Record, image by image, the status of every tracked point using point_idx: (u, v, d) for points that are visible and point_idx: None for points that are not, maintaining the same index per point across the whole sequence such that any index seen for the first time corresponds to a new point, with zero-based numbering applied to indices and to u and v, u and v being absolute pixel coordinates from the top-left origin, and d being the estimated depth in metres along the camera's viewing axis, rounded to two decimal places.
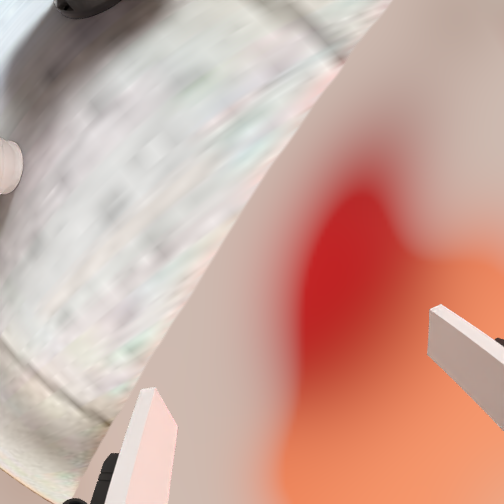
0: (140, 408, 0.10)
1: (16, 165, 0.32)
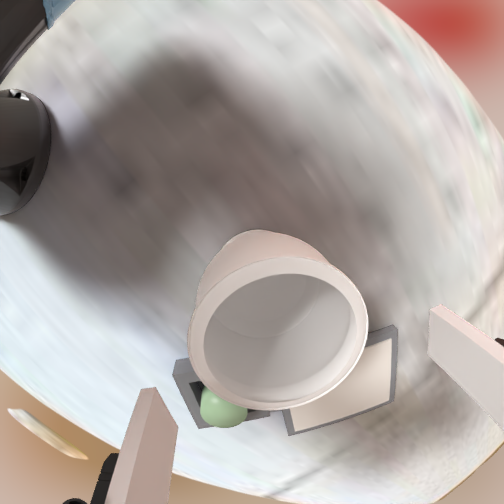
0: (140, 408, 0.10)
1: None
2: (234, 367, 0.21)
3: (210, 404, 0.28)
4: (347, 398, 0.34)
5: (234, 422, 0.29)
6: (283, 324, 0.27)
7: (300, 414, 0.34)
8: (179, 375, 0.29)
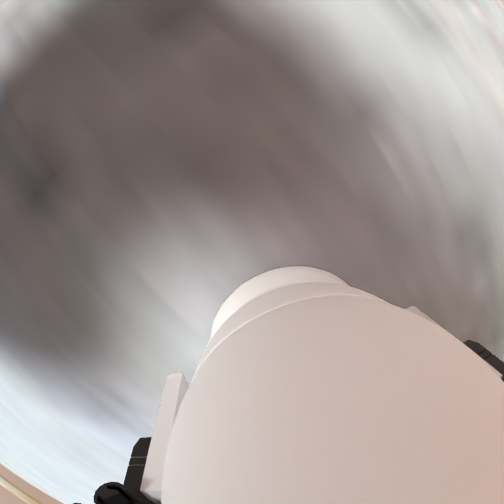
0: (169, 392, 0.11)
1: (306, 283, 0.13)
2: None
3: None
4: None
5: None
6: None
7: None
8: None
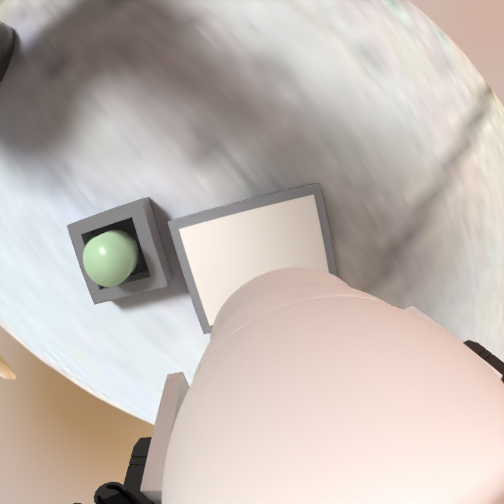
0: (169, 392, 0.11)
1: (307, 284, 0.13)
2: None
3: (91, 248, 0.25)
4: None
5: (117, 278, 0.26)
6: None
7: (211, 296, 0.31)
8: (73, 225, 0.27)
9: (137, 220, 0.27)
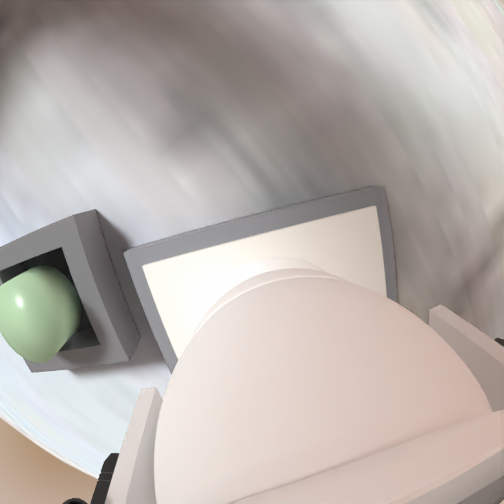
0: (140, 407, 0.10)
1: None
2: None
3: (2, 301, 0.12)
4: None
5: (44, 351, 0.13)
6: None
7: None
8: None
9: (70, 252, 0.14)
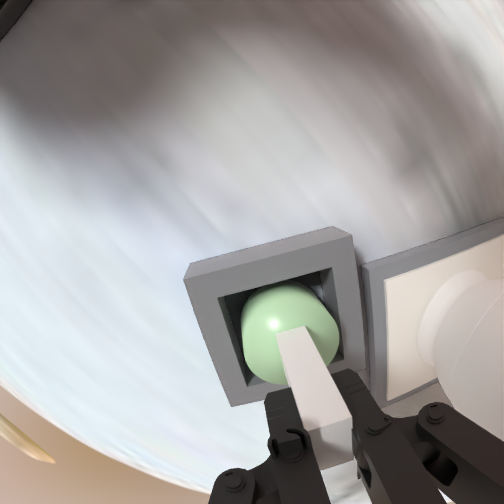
0: (286, 346, 0.13)
1: (479, 280, 0.17)
2: None
3: (267, 326, 0.14)
4: None
5: None
6: None
7: (401, 366, 0.20)
8: (198, 279, 0.15)
9: (340, 272, 0.16)
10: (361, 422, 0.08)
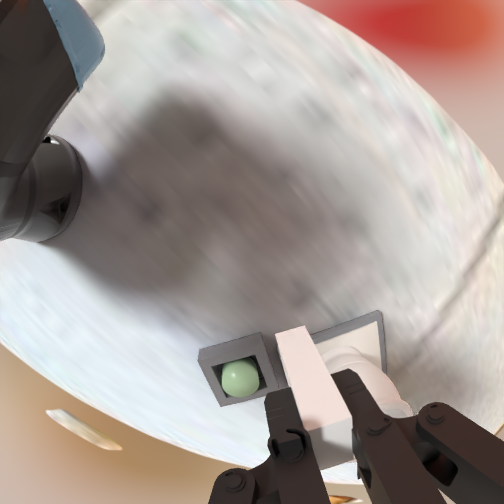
0: (286, 346, 0.13)
1: (343, 352, 0.39)
2: None
3: (229, 377, 0.37)
4: None
5: (249, 391, 0.38)
6: None
7: None
8: (203, 360, 0.38)
9: (259, 356, 0.38)
10: (361, 422, 0.08)
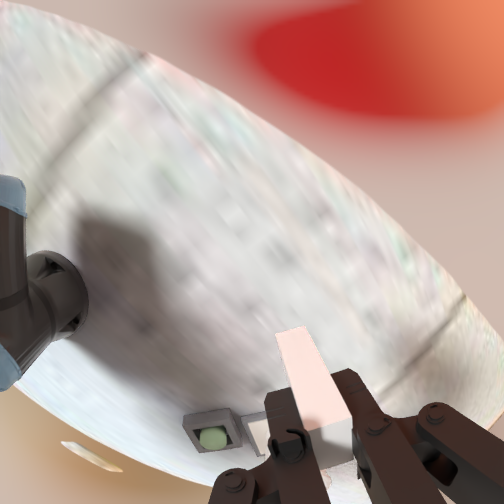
0: (286, 346, 0.13)
1: None
2: None
3: (205, 438, 0.46)
4: None
5: (219, 447, 0.47)
6: None
7: (262, 445, 0.51)
8: (186, 426, 0.47)
9: (227, 426, 0.47)
10: (361, 422, 0.08)
